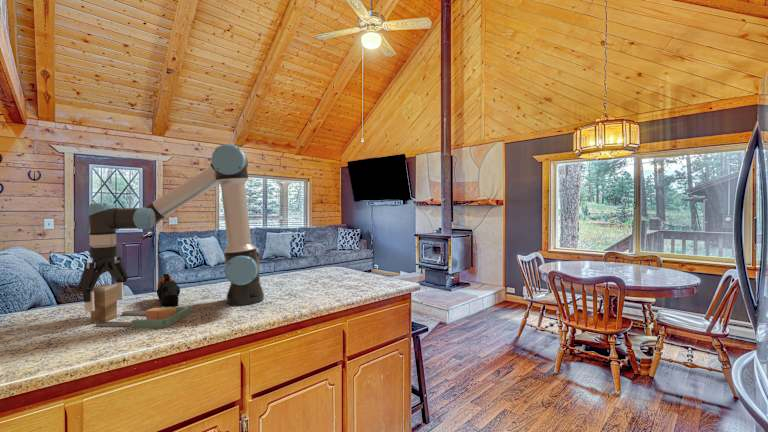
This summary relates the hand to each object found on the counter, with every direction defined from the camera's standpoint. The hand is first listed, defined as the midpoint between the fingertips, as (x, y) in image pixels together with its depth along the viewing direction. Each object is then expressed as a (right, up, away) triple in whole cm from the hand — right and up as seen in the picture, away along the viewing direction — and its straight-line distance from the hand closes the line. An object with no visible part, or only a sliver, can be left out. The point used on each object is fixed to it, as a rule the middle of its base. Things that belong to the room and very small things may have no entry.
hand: (105, 305), depth 127 cm
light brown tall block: (-1, -5, 0) cm, 5 cm away
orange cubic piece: (+18, -6, 0) cm, 19 cm away
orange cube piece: (+22, -6, 0) cm, 23 cm away
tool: (+10, -5, +20) cm, 23 cm away
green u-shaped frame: (+20, -5, 0) cm, 21 cm away
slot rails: (+8, -5, 0) cm, 10 cm away
